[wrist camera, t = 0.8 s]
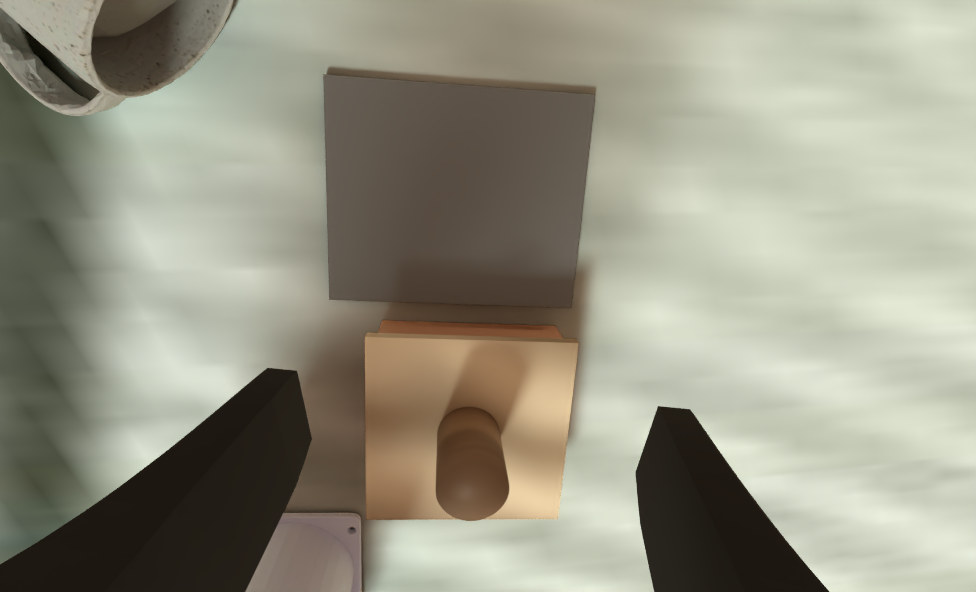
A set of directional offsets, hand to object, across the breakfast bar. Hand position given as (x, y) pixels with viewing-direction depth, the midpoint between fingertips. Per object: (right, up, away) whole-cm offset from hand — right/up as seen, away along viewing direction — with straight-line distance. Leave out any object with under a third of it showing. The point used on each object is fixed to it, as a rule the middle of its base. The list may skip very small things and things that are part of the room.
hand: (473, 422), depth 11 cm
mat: (-1, +8, +16) cm, 18 cm away
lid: (-1, -4, +16) cm, 17 cm away
